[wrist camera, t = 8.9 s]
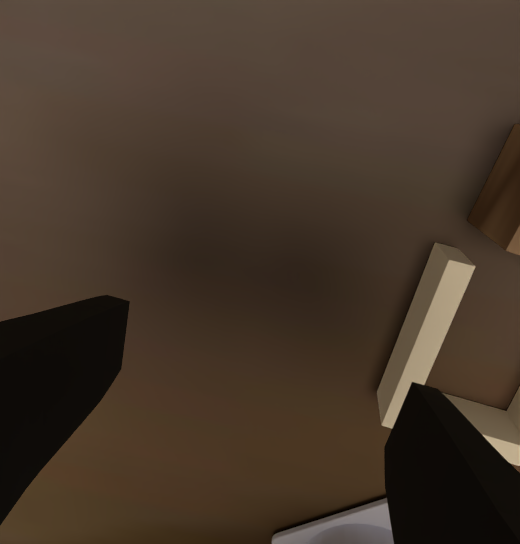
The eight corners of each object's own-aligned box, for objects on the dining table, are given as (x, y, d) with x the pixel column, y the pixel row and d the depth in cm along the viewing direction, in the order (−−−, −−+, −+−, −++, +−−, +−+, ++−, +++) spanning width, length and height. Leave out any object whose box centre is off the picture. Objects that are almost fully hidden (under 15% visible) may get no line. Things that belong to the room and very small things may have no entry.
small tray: (518, 433, 21) (541, 472, 19) (376, 392, 22) (381, 425, 19) (600, 285, 18) (639, 309, 16) (434, 242, 19) (449, 259, 16)
